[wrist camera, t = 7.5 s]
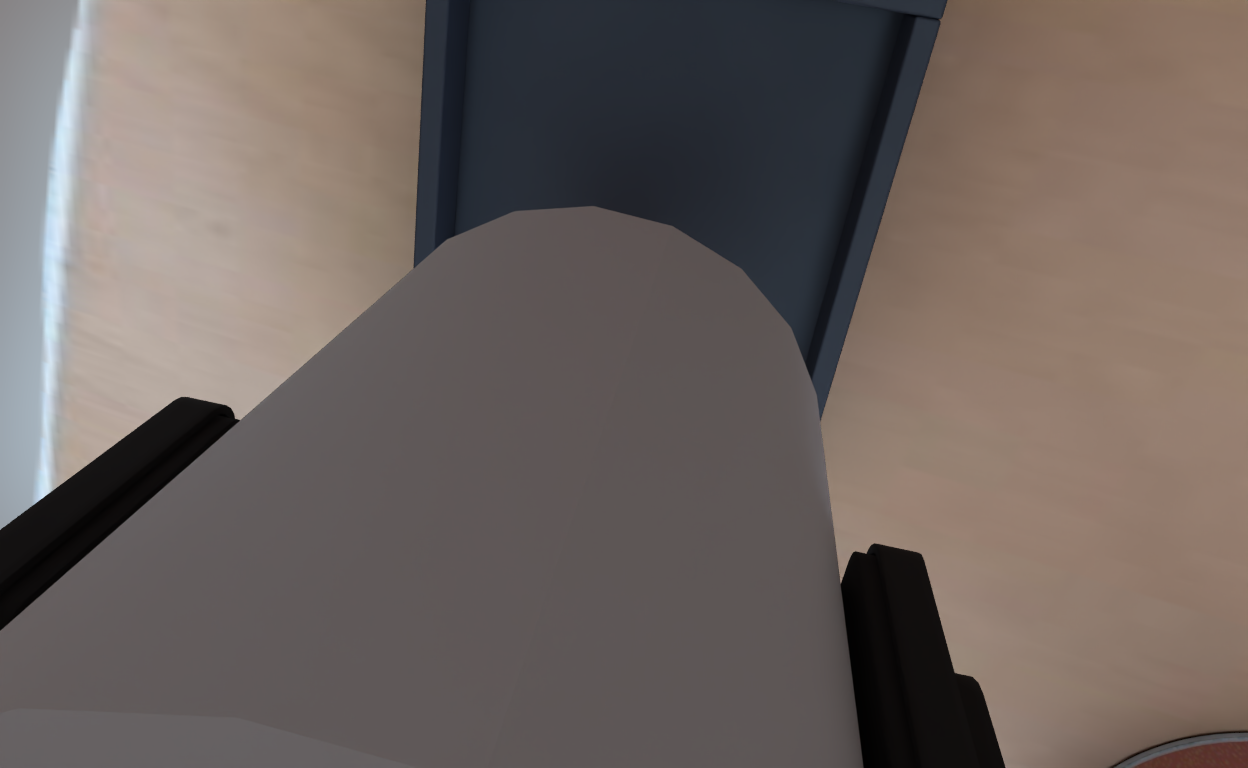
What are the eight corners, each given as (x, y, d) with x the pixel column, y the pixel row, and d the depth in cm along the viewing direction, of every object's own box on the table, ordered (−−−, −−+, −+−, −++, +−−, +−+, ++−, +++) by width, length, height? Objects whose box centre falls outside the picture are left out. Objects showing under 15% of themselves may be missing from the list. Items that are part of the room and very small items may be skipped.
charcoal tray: (461, -95, 22) (429, -101, 20) (932, -12, 22) (951, -9, 19) (432, 391, 29) (405, 425, 27) (792, 467, 28) (794, 509, 26)
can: (344, 490, 16) (-442, 1481, 6) (448, 112, 13) (-1024, 815, 2) (706, 637, 17) (606, 1839, 6) (902, 305, 13) (1487, 1737, 3)
